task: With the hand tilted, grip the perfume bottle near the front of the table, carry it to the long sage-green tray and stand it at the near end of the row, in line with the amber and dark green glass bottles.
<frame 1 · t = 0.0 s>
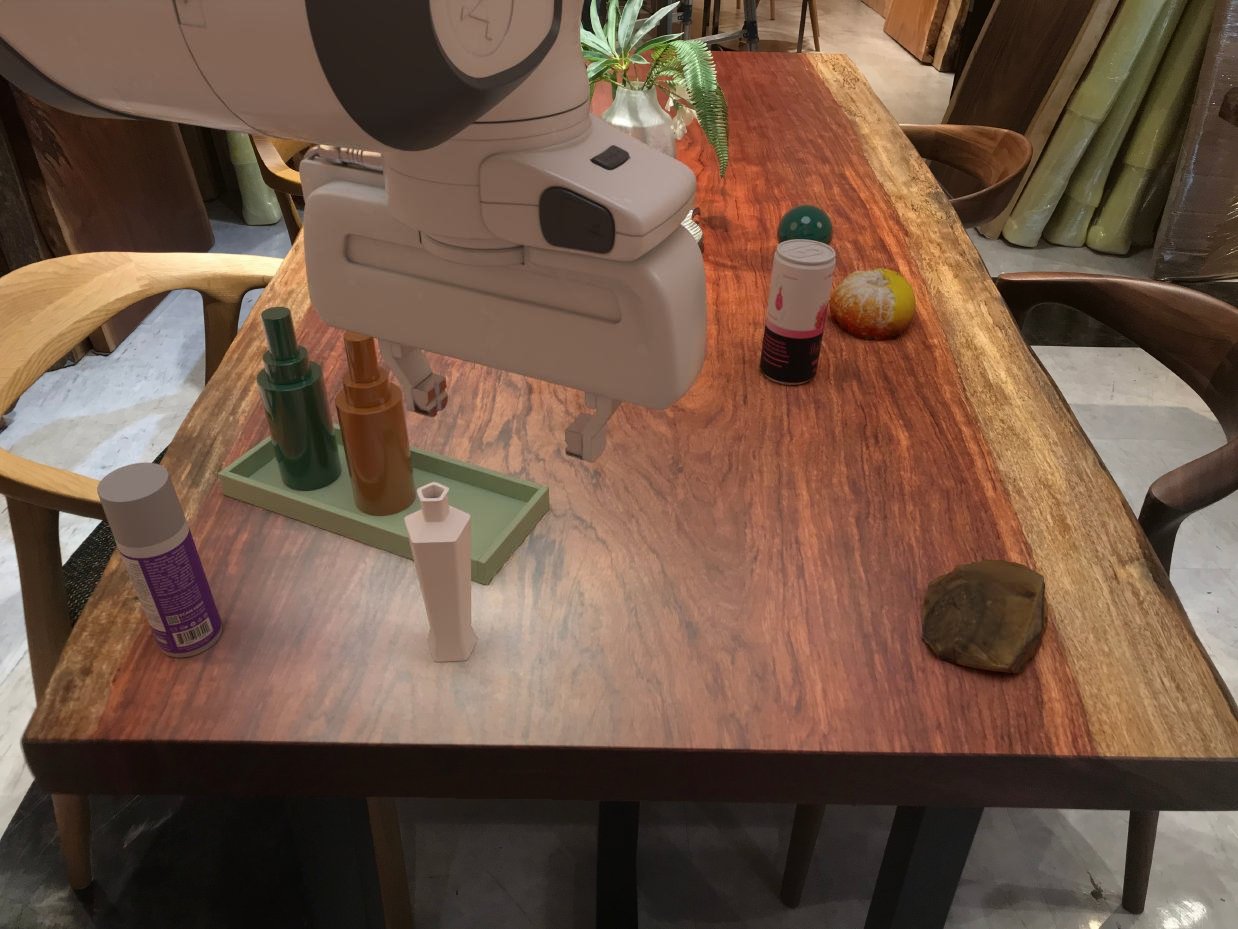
hand: (504, 431, 47), 26 cm above the table, tool pointing down, fingers open, 8 cm apart
bottle a: (311, 473, 86), resting on tray
decorative stone: (979, 629, 72), on the table
beverage can: (787, 373, 104), on the table
sphere: (800, 260, 131), on the table
white hollow cylinder: (543, 343, 109), on the table
perfume bottle: (450, 647, 69), on the table
bottle b: (385, 497, 83), resting on tray
tray: (386, 501, 83), on the table
container: (191, 636, 69), on the table
fruit: (867, 324, 115), on the table
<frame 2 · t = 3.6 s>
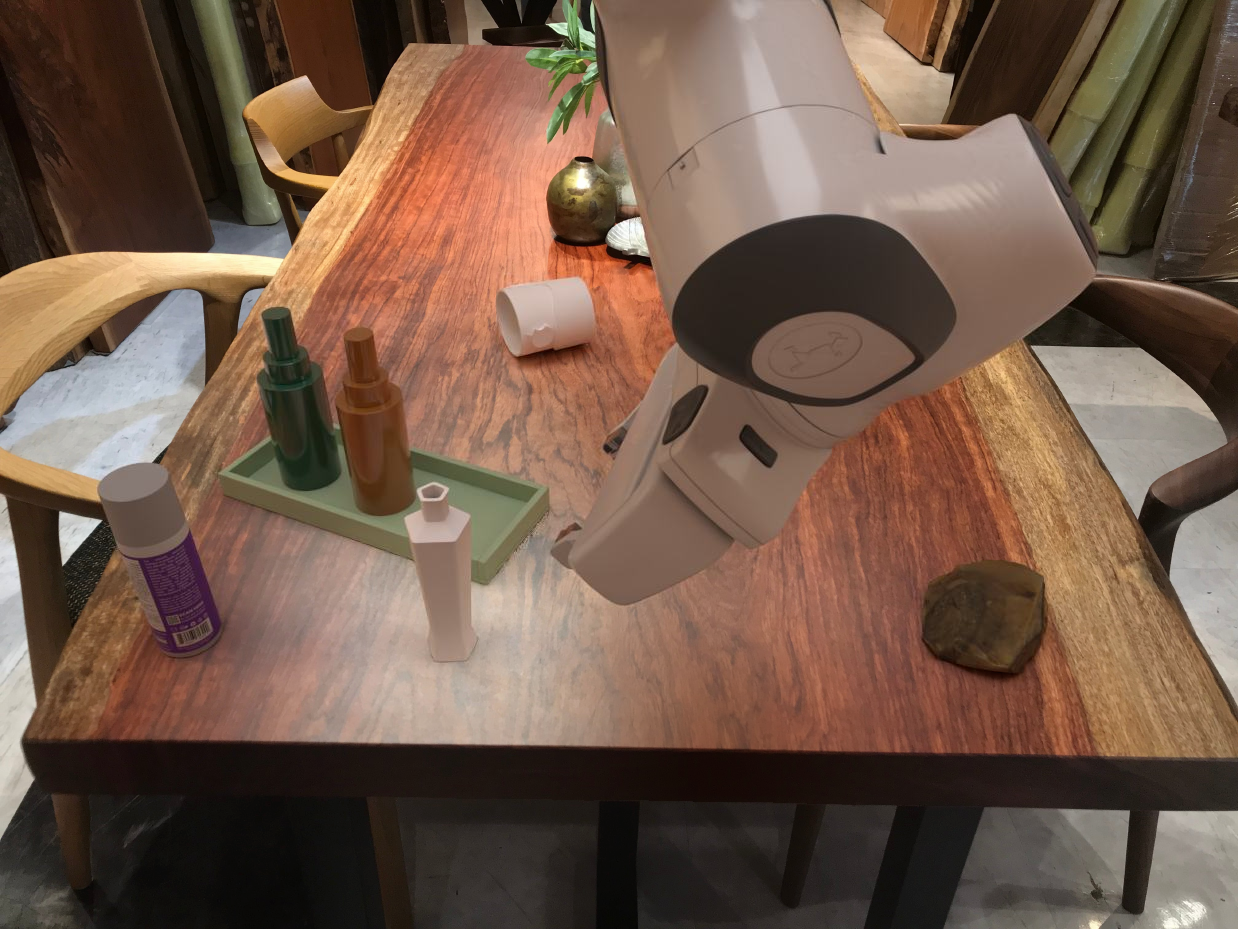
hand: (589, 497, 53), 19 cm above the table, tool tilted 45°, fingers open, 8 cm apart
nothing on the table moved.
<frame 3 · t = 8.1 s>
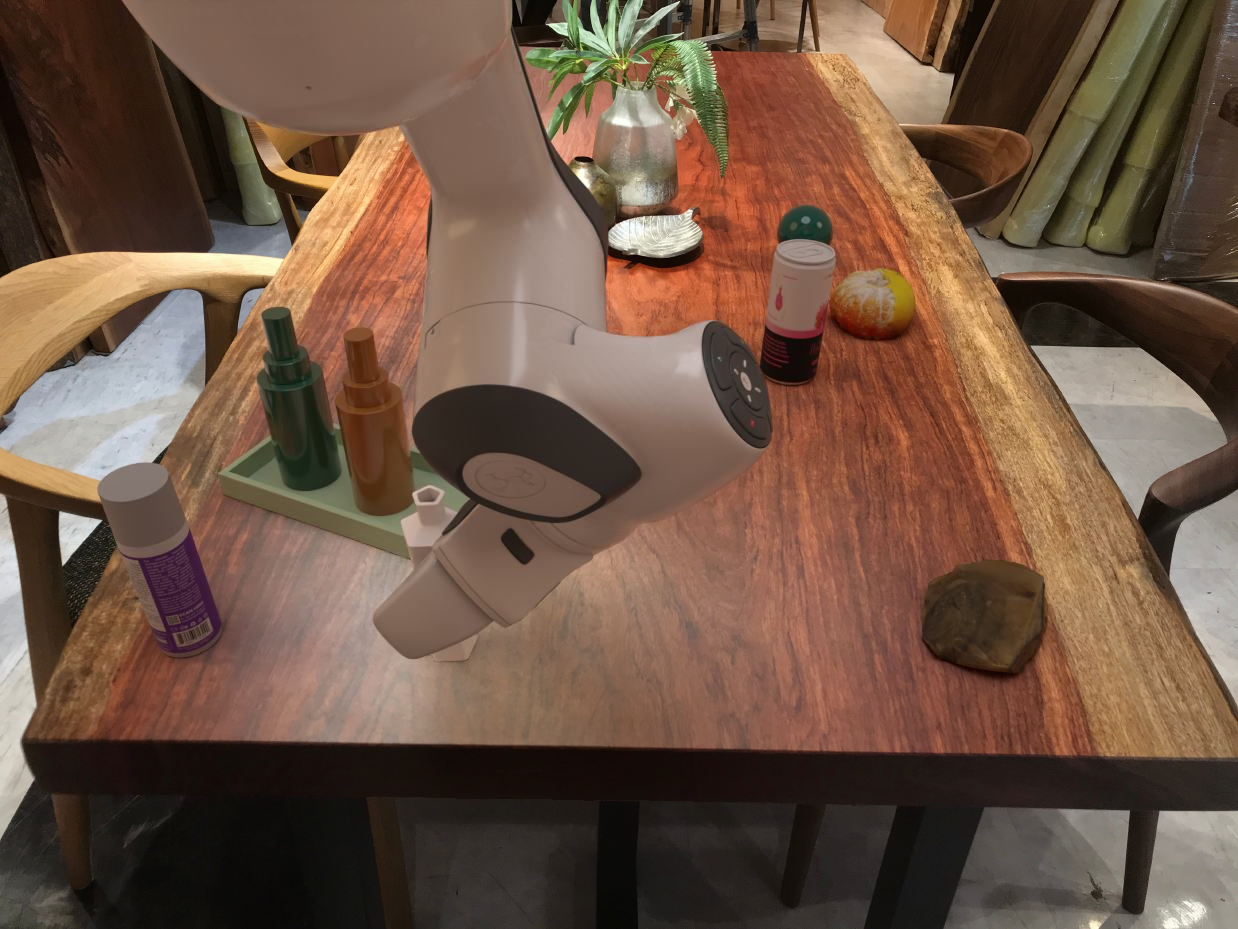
hand: (434, 566, 64), 8 cm above the table, tool tilted 45°, fingers closed on perfume bottle, 4 cm apart
perfume bottle: (451, 647, 69), on the table, touching gripper
everything else where it was.
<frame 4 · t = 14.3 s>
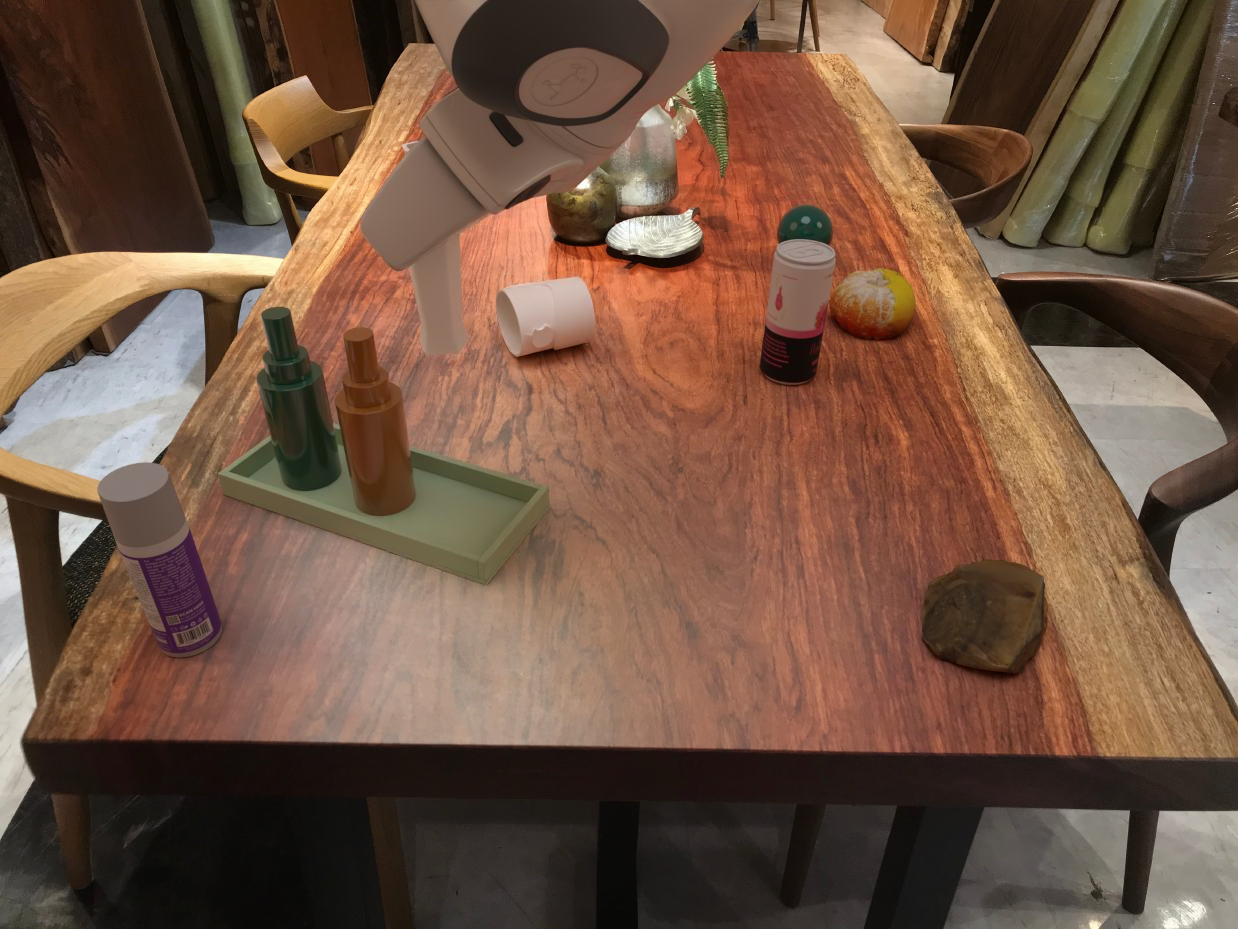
hand: (425, 240, 63), 28 cm above the table, tool tilted 45°, fingers closed on perfume bottle, 4 cm apart
perfume bottle: (442, 346, 68), point 19 cm above the table, touching gripper
everything else where it was.
when the fingers open (9 cm above the table, at t = 20.5 s): perfume bottle stays where it is, resting on tray.
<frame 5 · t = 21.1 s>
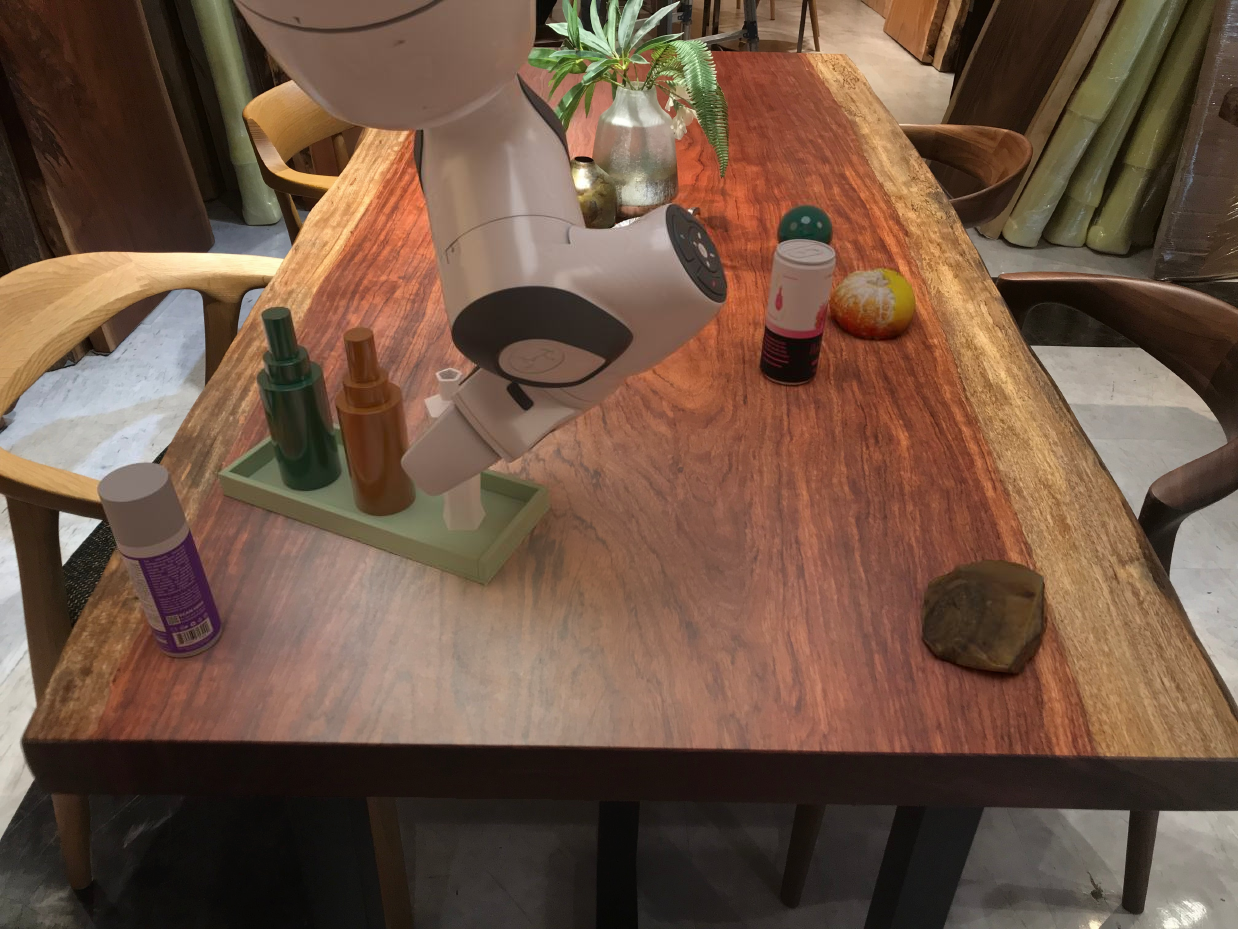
hand: (449, 441, 75), 9 cm above the table, tool tilted 45°, fingers open, 8 cm apart
perfume bottle: (462, 521, 81), resting on tray
everything else where it was.
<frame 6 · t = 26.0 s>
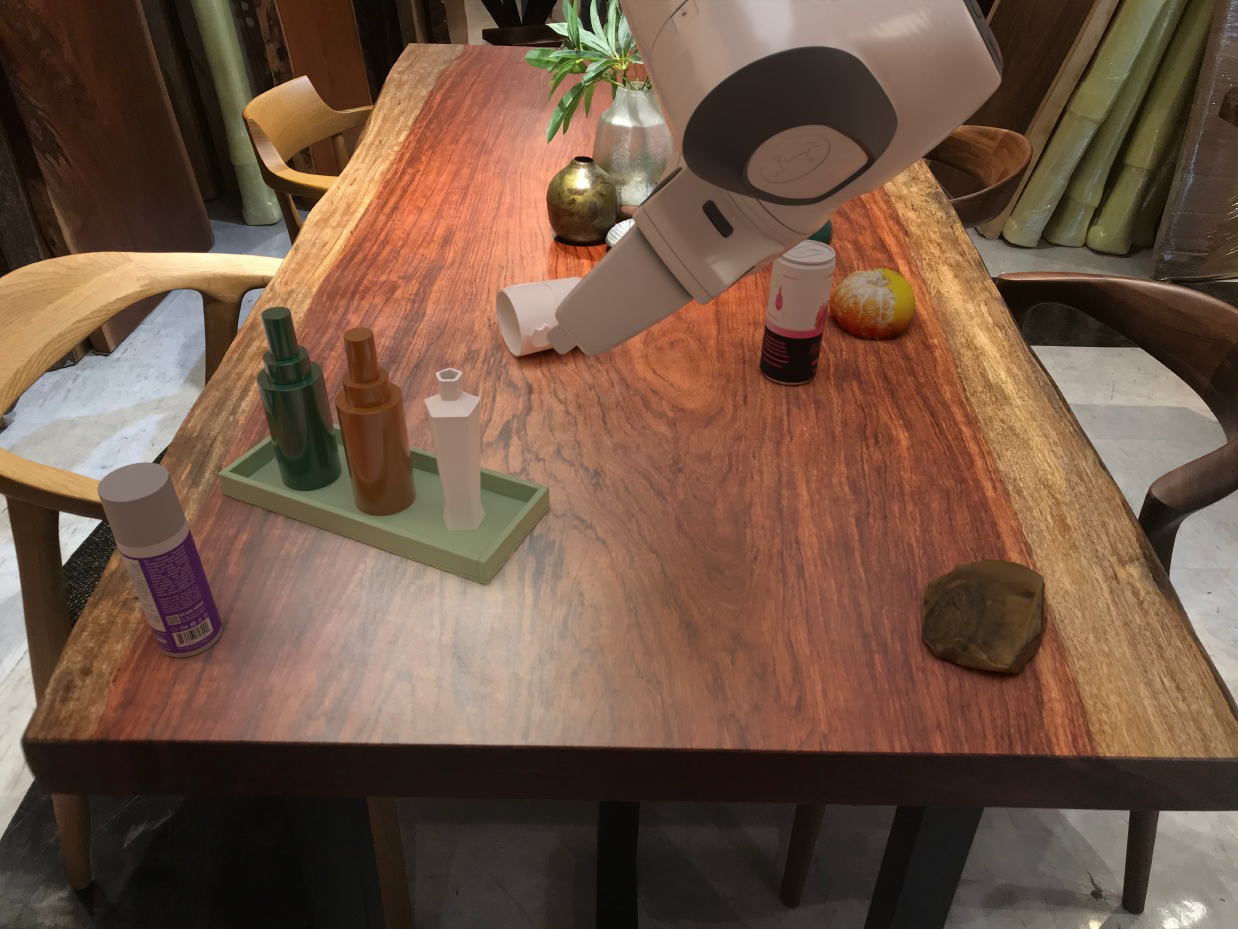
hand: (588, 313, 63), 24 cm above the table, tool tilted 45°, fingers open, 8 cm apart
nothing on the table moved.
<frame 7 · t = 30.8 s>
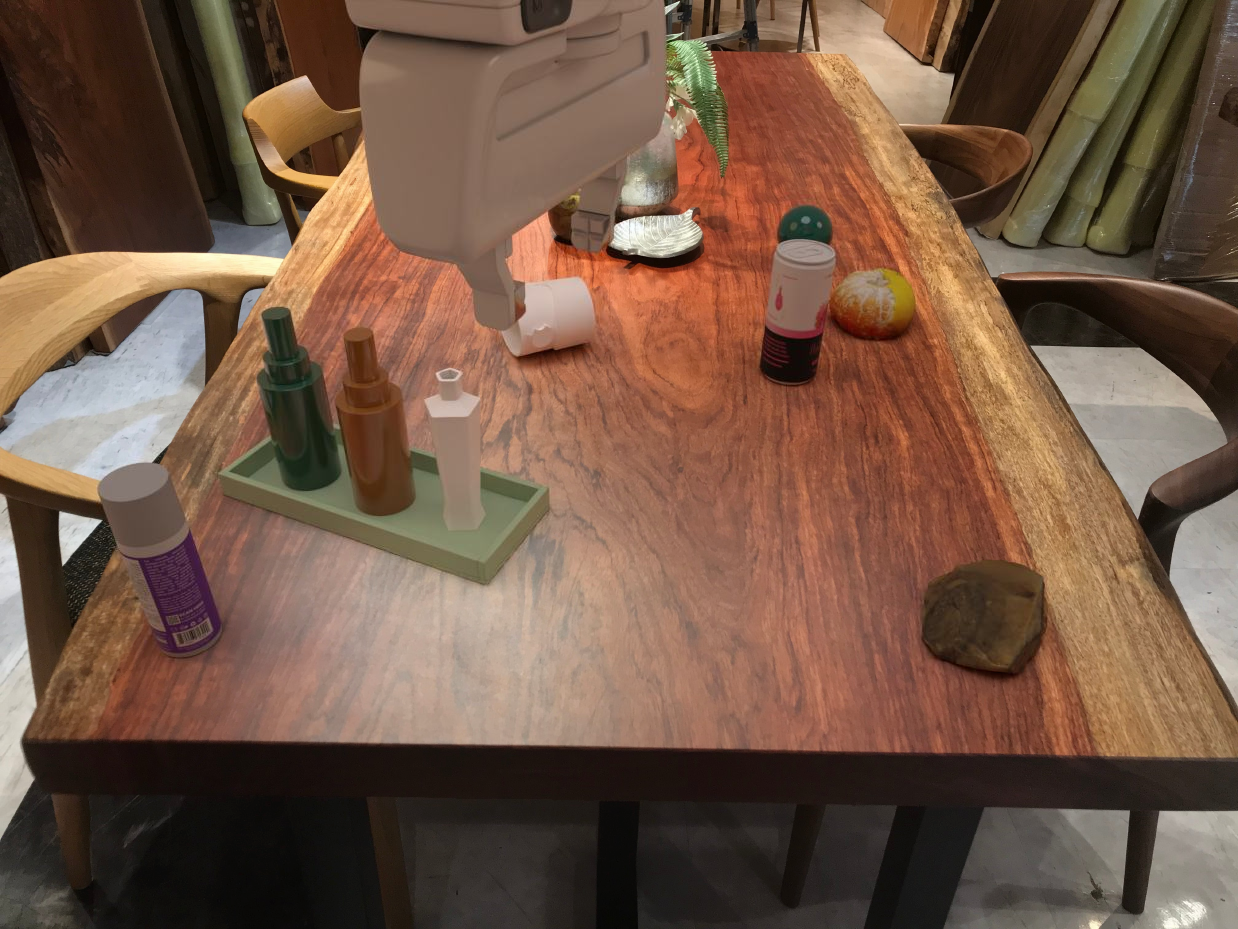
hand: (550, 281, 43), 34 cm above the table, tool pointing down, fingers open, 8 cm apart
nothing on the table moved.
at the end: perfume bottle 0.4 cm from the target spot on the table beside the bottle a, resting on tray; perfume bottle 0.4 cm from the target spot in the tray, point 0.3 cm above the tray's base; perfume bottle tilted 0° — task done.
